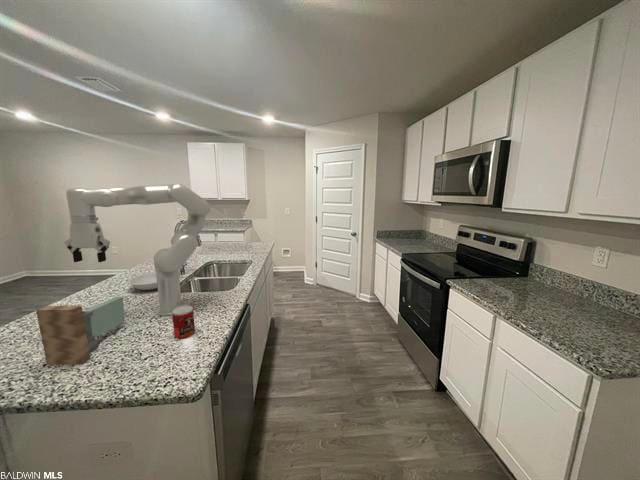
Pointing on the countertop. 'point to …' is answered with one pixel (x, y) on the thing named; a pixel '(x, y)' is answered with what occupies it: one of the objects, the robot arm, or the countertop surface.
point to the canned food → (183, 322)
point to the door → (103, 317)
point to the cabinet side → (64, 335)
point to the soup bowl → (144, 281)
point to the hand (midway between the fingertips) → (90, 261)
